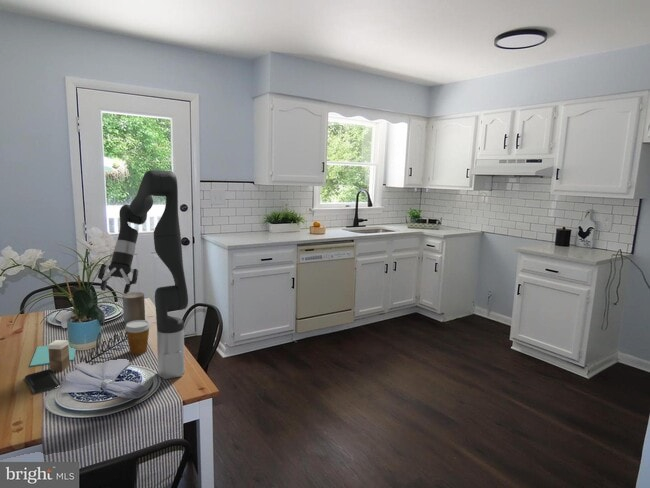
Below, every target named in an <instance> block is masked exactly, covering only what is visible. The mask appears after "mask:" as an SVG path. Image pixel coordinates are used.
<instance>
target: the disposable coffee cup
mask: <svg viewBox="0 0 650 488" xmlns="http://www.w3.org/2000/svg"><path fill="white" fill-rule="evenodd" d="M150 328H151V324H150V321H148V320H146V319H145V320H136V321H131V322H129V323H127V324H125V327H124V330H125V332H126V336H127V341H128V348H129V353H130V354H131V355H136V356H137V355H142V354H145V353H146V352H147V351H148V345H149V344H148V343H149V334H150Z"/></svg>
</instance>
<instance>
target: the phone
mask: <svg viewBox="0 0 650 488" xmlns="http://www.w3.org/2000/svg"><path fill="white" fill-rule="evenodd" d="M24 377H25V381H26V383H27V384H28V386H29V388H30V390H31V392H32V394H33V395H36V394H37V395H38V394H40V393H41V394H42V393H44V392H48V391H52V390H55V389H56V388H55V387H57V386H58V385H60V386H61V382H60V381H59V379H58V378H57V377H56V375H55V374H54V371H51V370H50V369H44V370H42V371H37V372H33V373H30V374H26V375H25V376H24ZM54 388H55V389H54Z"/></svg>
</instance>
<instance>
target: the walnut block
mask: <svg viewBox="0 0 650 488" xmlns="http://www.w3.org/2000/svg"><path fill="white" fill-rule="evenodd" d="M68 343H69V340H64V339H63V340H60V339H55V340H54V341H52V342H51V343H49V344H47V346H48V350H49V364H48V365H49V370H51V371H52V372H64V370H66V369H67V368H68V367H69V366H70V364H71V363H70V362H71V361H69V346H68Z"/></svg>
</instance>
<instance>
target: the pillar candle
mask: <svg viewBox="0 0 650 488" xmlns="http://www.w3.org/2000/svg"><path fill="white" fill-rule="evenodd" d="M145 305H146V303H145V293H144V292H142V291H141V292H140V291H133V292H128V293H127V294H124V293H123V295H122V309H123V310H122V311H123V312H122V314H123V323H124V325H126V324H127V323H129V322H131V321H136V320H146V308H145Z"/></svg>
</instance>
